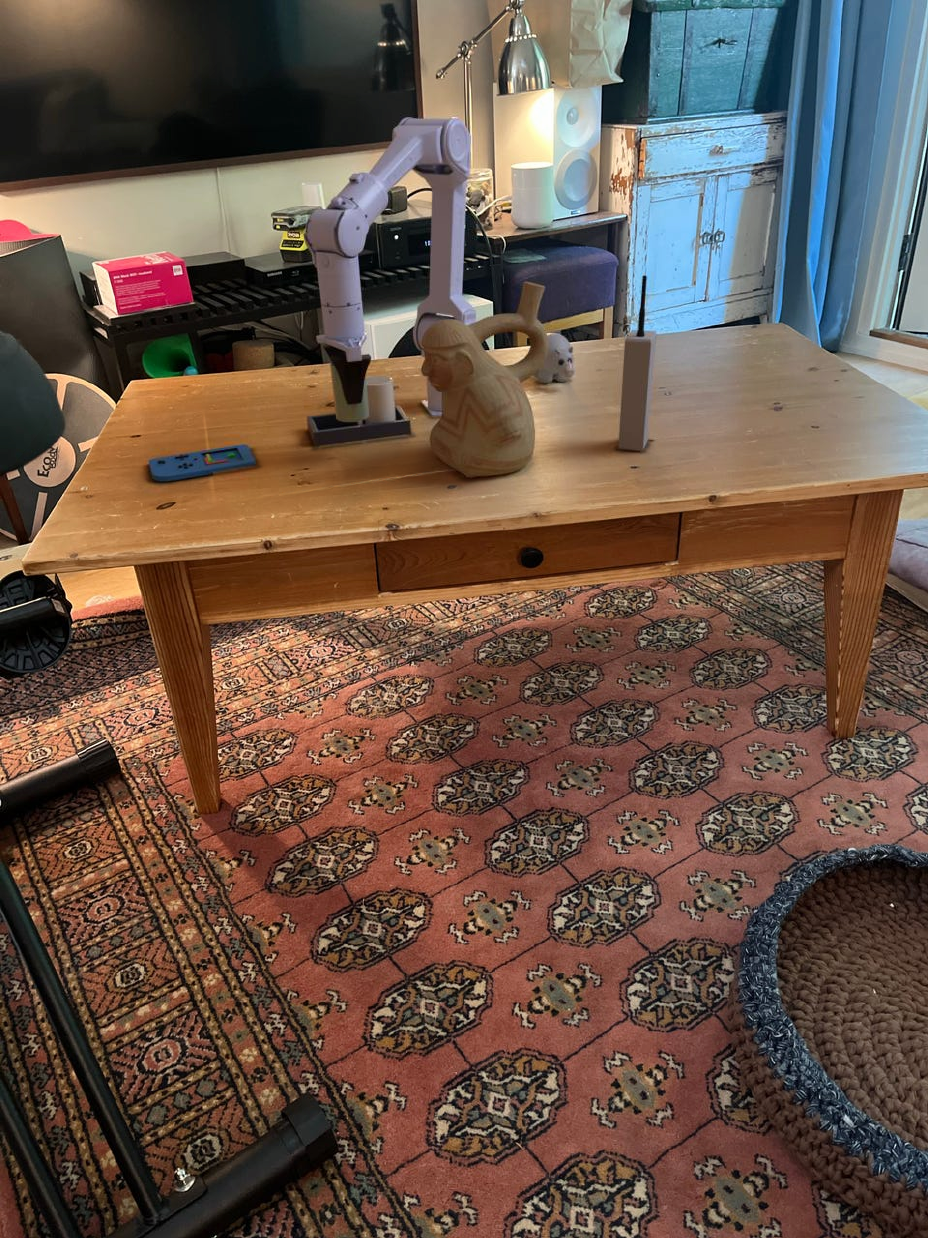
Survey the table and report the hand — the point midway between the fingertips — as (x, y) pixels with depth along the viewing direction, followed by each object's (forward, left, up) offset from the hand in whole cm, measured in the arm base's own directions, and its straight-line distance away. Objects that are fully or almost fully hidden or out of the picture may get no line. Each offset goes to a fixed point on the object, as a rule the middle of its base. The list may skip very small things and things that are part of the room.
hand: (350, 397), depth 134 cm
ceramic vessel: (-18, +10, -9) cm, 23 cm away
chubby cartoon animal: (-41, -22, -9) cm, 48 cm away
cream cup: (-6, -9, -9) cm, 14 cm away
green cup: (0, 0, -3) cm, 3 cm away
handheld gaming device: (+23, -4, -9) cm, 25 cm away
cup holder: (-2, -9, -9) cm, 13 cm away
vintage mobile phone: (-41, +11, -9) cm, 44 cm away
